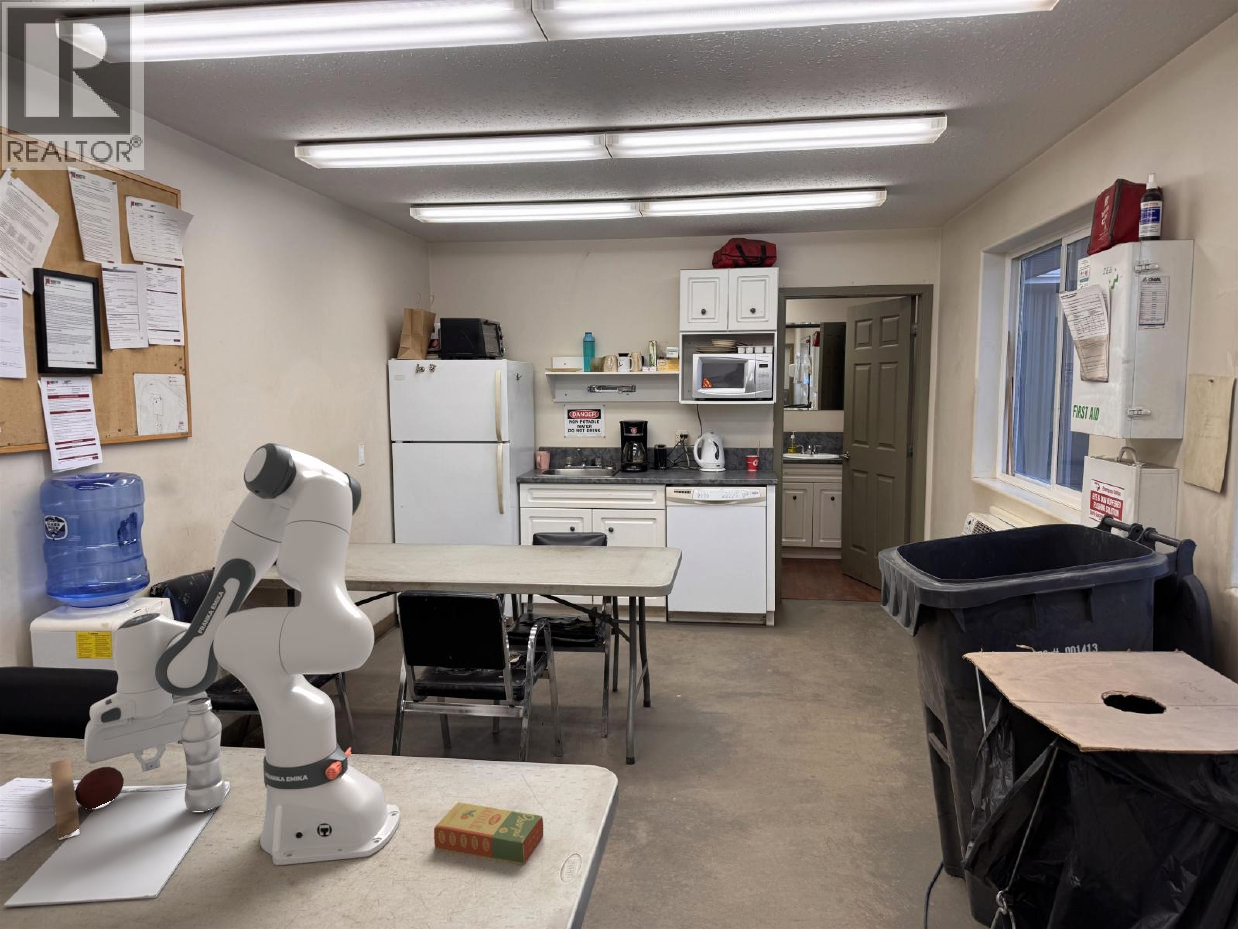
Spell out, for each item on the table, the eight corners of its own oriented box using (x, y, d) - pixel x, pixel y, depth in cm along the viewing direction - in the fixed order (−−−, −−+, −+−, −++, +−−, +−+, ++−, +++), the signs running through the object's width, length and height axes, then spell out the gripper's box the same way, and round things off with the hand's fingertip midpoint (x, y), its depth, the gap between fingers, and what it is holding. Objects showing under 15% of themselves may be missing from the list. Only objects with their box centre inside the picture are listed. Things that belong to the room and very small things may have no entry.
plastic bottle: (176, 814, 135) (168, 706, 133) (208, 795, 141) (200, 692, 140) (204, 820, 133) (196, 711, 131) (235, 800, 139) (228, 696, 138)
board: (71, 780, 148) (69, 758, 148) (80, 834, 129) (77, 809, 129) (52, 785, 146) (50, 763, 146) (58, 841, 127) (56, 816, 127)
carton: (459, 823, 131) (458, 800, 131) (544, 838, 127) (544, 813, 126) (434, 851, 123) (433, 826, 123) (524, 867, 119) (523, 841, 118)
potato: (129, 789, 144) (127, 754, 144) (119, 811, 137) (116, 774, 136) (83, 797, 142) (80, 761, 141) (70, 820, 134) (67, 782, 133)
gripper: (203, 681, 154) (207, 746, 155) (80, 708, 141) (86, 780, 142) (209, 690, 149) (214, 757, 150) (82, 719, 136) (89, 793, 137)
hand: (151, 768), depth 146 cm, fingers closed
